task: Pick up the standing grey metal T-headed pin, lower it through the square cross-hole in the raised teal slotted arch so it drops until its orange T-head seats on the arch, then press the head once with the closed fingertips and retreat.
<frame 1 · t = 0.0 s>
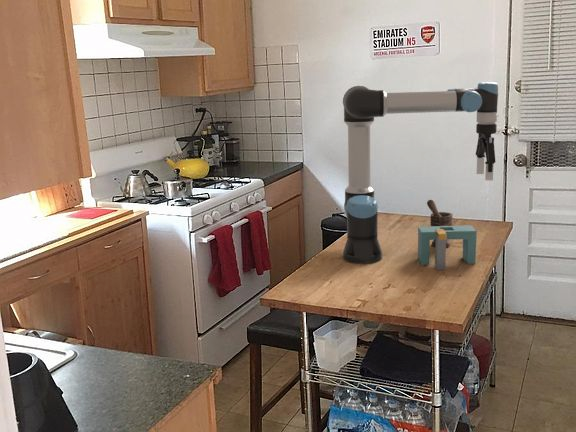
hand: (484, 177, 262), 28 cm above the table, fingers open, 13 cm apart
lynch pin: (440, 268, 242), on the table
mortar and pestle: (439, 246, 269), on the table
teal slotted arch: (446, 260, 250), on the table
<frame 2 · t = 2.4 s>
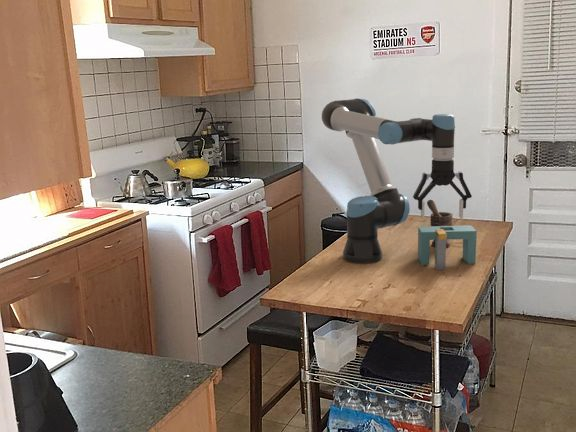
hand: (441, 218, 237), 19 cm above the table, fingers open, 13 cm apart
nothing on the table moved.
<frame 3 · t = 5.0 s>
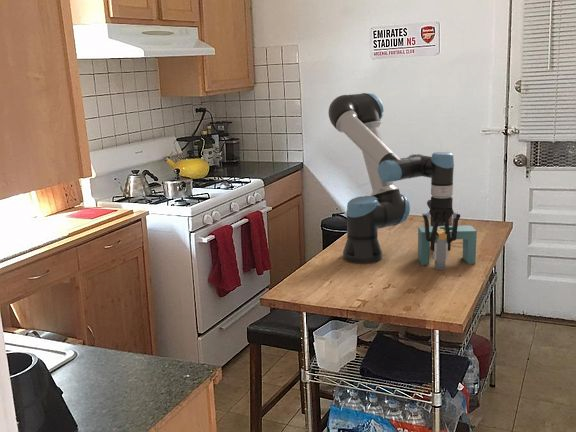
hand: (440, 259, 241), 4 cm above the table, fingers closed on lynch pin, 3 cm apart
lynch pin: (439, 268, 242), on the table, touching gripper
everything else where it was.
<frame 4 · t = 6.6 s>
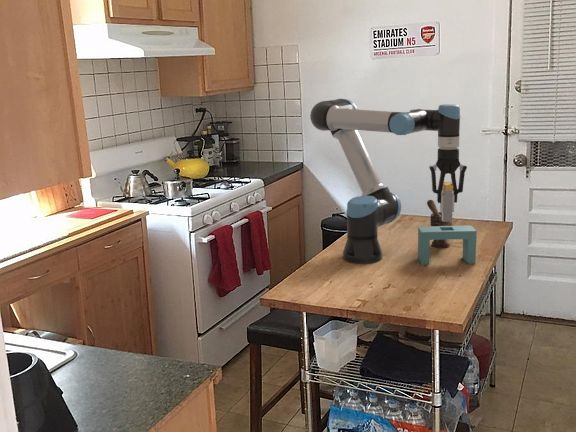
hand: (446, 211, 244), 20 cm above the table, fingers closed on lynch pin, 3 cm apart
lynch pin: (446, 220, 245), point 16 cm above the table, touching gripper
everything else where it was.
when the fingers open (13 cm above the table, at t = 8.7 s): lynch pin drops 9 cm, resting on teal slotted arch.
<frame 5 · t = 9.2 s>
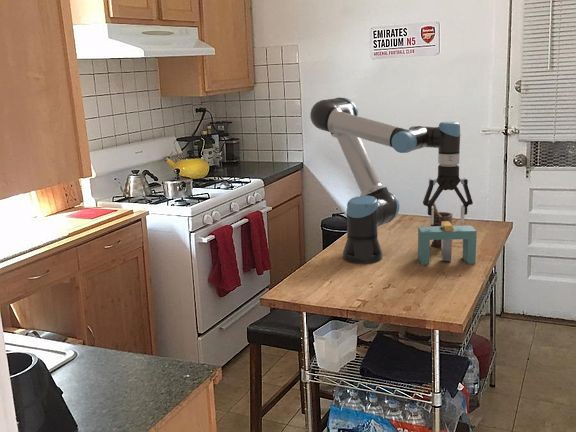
hand: (447, 223, 247), 15 cm above the table, fingers open, 10 cm apart
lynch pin: (446, 259, 250), resting on teal slotted arch
everything else where it was.
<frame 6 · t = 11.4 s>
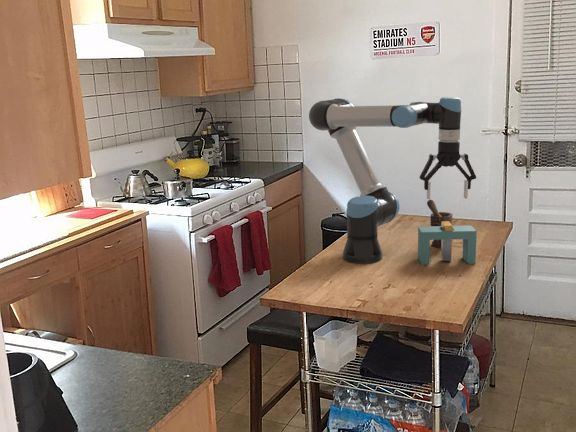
hand: (446, 198, 245), 24 cm above the table, fingers open, 13 cm apart
nothing on the table moved.
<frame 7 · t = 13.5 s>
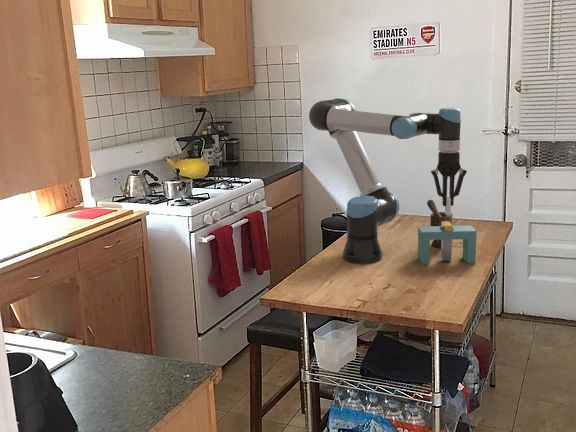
hand: (447, 214, 246), 18 cm above the table, fingers closed
nothing on the table moved.
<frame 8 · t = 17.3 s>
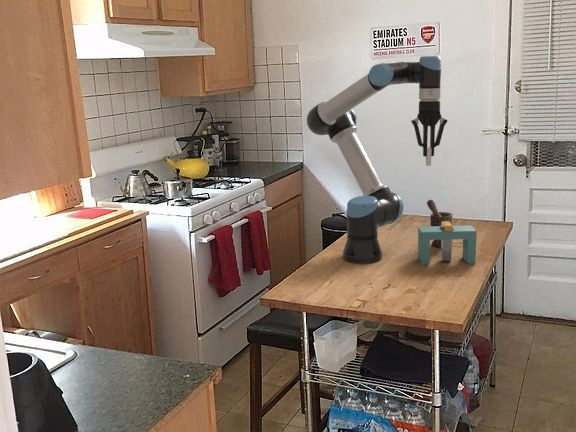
hand: (428, 165, 244), 36 cm above the table, fingers closed
nothing on the table moved.
at the end: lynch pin 0.0 cm off-centre on the teal slotted arch, point 0.5 cm above the teal slotted arch's base; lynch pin tilted 0°; the gripper is holding nothing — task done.
